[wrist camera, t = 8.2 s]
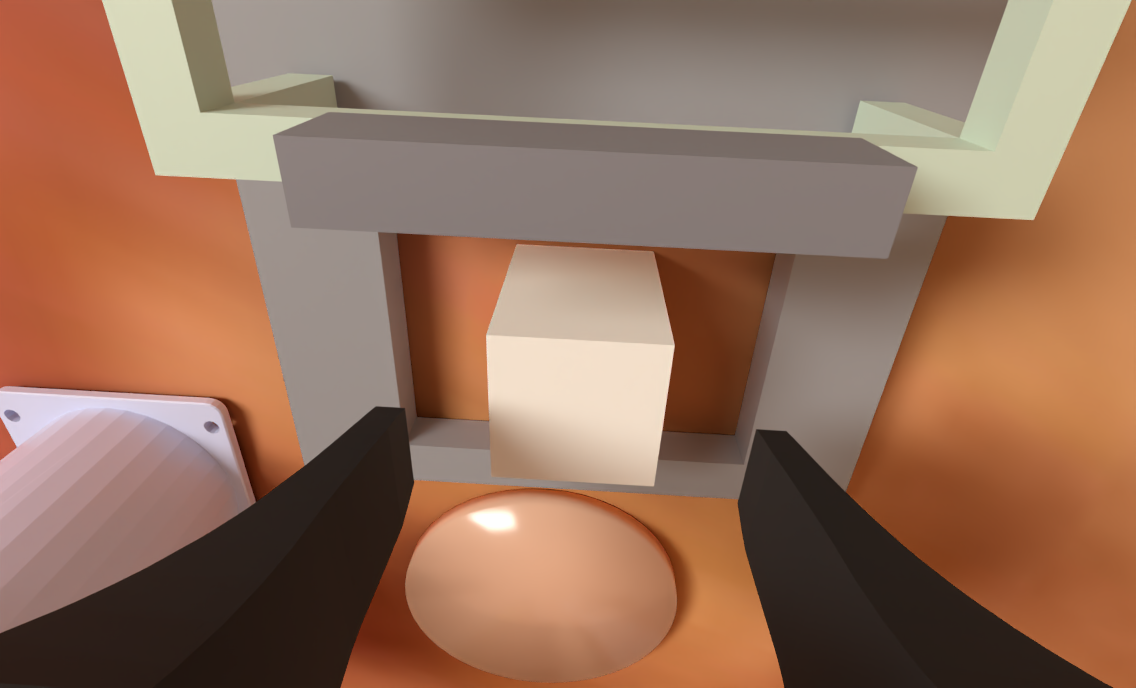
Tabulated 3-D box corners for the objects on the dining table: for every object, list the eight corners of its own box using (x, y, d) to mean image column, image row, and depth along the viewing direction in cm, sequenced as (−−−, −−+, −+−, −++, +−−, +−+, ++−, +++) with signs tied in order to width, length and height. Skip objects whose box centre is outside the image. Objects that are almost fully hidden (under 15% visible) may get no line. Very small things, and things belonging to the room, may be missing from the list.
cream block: (640, 367, 19) (654, 486, 15) (517, 360, 19) (491, 476, 15) (653, 251, 17) (674, 345, 13) (517, 243, 17) (486, 335, 13)
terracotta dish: (658, 672, 27) (660, 690, 27) (421, 657, 28) (417, 674, 27) (693, 497, 22) (696, 513, 21) (397, 480, 22) (391, 495, 21)
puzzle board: (825, 474, 21) (840, 505, 20) (324, 444, 21) (306, 473, 20) (1190, -600, 10) (1281, -692, 8) (95, -628, 10) (20, -723, 9)
